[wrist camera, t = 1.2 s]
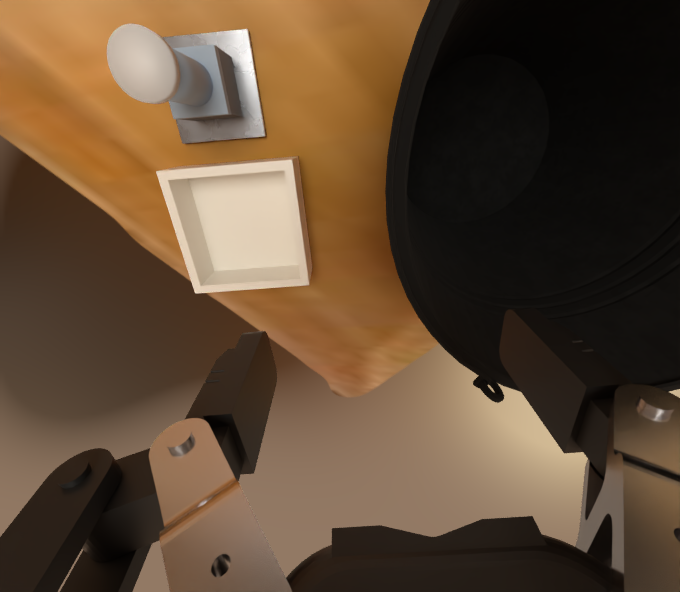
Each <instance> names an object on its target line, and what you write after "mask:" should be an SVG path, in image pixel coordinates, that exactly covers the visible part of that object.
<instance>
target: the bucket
mask: <svg viewBox="0 0 680 592" xmlns="http://www.w3.org/2000/svg"><path fill="white" fill-rule="evenodd" d="M386 215H387V226H388V232H389V239H390V245H391V251H392V254H393V258H394V262H395V265H396V269H397V273H398V276H399V278H400V281H401V283H402V286H403V288H404V290H405V293H406V295H407V298H408V299H409V301H410V303H411V305H412V306H413V308H414V310H415V312H416V314H417V315H418V317H419V318H420V320H421V321H422V323H423V324H424V325H425V327H426V328H427V329H428V331H429V332H430V334H431V335H432V336H433V337H434V338H435V339H436V340H437V341H438V342H439V344H440V345H441V346H442V347H443V348H444V349H445V350H446V351H447V352H448V353H449V354H451V355H452V356H453V357H454V358H455V359H456V360H457V361H458V362H459V363H461V364H462V365H464V366H465V367H467V368H468V369H470V370H471V371H473V372H474V373H476V374H477V375H479V376H478V377H477V378H476V379H475V380H474V381H473V385H474V386H476V387H478V388H480V389H481V390H482V391H483V393H484V394H485V395H486V396H487V397H488V398H489V399H491V400H492V401H494V402H501V401H502V400H503V399H504V395H503V392H502V390H501V388H500V387H499V385H498V384H497V383H499V384H501V385H503V386H506V387H509V388H511V389H515V390H517V391H520V389H519V388H518V386H517V385H516V384H515V382H514V381H513V379H512V378H511V376H510V375H509V373H508V372H507V371H506V369H505V368H504V366H503V364H502V362H501V359H500V354H499V347H500V340H501V334H502V328H503V321H504V316H505V313H506V311H507V310H509V309H520V308H531V307H533V308H535V309H537V310H538V311H539V312H540V313H541V314H542V315H543V316H544V317H546V318H547V319H548V320H549V321H554V322H556V323H558V324H560V325H562V326H564V327H566V328H568V329H570V330H571V331H573V332H574V333H575V334H576V335H577V336H578V337H580V338H581V339H582V341H583V342H585V343H587V344H588V345H589V346H590V347H591V348H592V349H593V351H596V352H597V353H598V354H599V355H601V356H602V357H603V358H604V359H605V360H606V361H607V362H609V363H610V364H611V365H612V366H613V367H614V368H616V369H617V370H618V371H619V372H620V373H621V374H623V375H624V376H625V377H626V378H627V379H628V380H630V381H631V382H632V383H633V384H643V385H648V386H653V387H656V388H659V389H662V390H664V391H667V392H669V391H673V390H677V389H680V0H430V2H429V5H428V7H427V10H426V12H425V14H424V17H423V19H422V22H421V24H420V27H419V29H418V32H417V35H416V38H415V41H414V44H413V47H412V50H411V53H410V56H409V59H408V62H407V66H406V69H405V72H404V75H403V79H402V83H401V87H400V91H399V95H398V100H397V104H396V108H395V112H394V116H393V122H392V129H391V136H390V142H389V149H388V156H387V173H386ZM488 384H489V385H490V386H491V387H492V388H493V390H494V391H495V393H494V392H492V391H491V390H490V388H489V387H488V386H487V385H488ZM520 392H521V391H520Z"/></svg>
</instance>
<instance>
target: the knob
mask: <svg viewBox="0 0 680 592" xmlns="http://www.w3.org/2000/svg"><path fill="white" fill-rule="evenodd" d="M107 59H108V64H109V68H110V70H111V73H112V75H113V77H114V79H115V80H116V82H117V83H118V85H119V86H120V87H121V88H122V89H123V90H124V91H125V92H126V93H127V94H128V95H130V96H131V97H133V98H134V99H136V100H139V101H142V102H146V103H152V104H161V103H165V102H167V101H169V104H170V107H171V111H172V115H173V118H174V119H180V120H190V121H200V120H211V119H222V118H233V117H243V115H242V110H241V104H240V99H239V94H238V89H237V83H236V78H235V73H234V68H233V62H232V57H231V56H229V55H228V54H227V53H225V52H224V51H222V50H221V49H220V48H218V47H217V46H216V45H214V44H211V45H201V46H191V47H181V48H171V47H170V45H169V44H168V43H167V42H166V41H165V40H164V39H163V38H162V37H161V36H160V35H158V34H157V33H155V32H153V31H151V30H150V29H148V28H146V27H144V26H141V25H138V24H125V25H122V26H120V27H118V28H117V29H116V30H115V31H114V32H113V33H112V35H111V36H110V38H109V41H108V46H107Z"/></svg>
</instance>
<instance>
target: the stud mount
mask: <svg viewBox="0 0 680 592" xmlns="http://www.w3.org/2000/svg"><path fill="white" fill-rule="evenodd" d="M162 38H163V39H164V40H165V41H166V42H167V43H168V44H169V45H170V47H171V48H181V47H191V46H201V45H211V44H214V45H216V46H217V47H218V48H220V49H221V50H222V51H224V52H225V53H227V54H228V55H229V56H231V57H232V62H233V68H234V73H235V78H236V83H237V89H238V94H239V99H240V104H241V110H242V115H243V117H233V118H222V119H211V120H200V121H190V120H180V119H176V122H177V125H178V129H179V133H180V136H181V140H182V143H183V144H184V143H195V142H207V141H218V140H229V139H241V138H252V137H263V136H266V130H265V124H264V117H263V111H262V105H261V99H260V93H259V87H258V81H257V75H256V69H255V63H254V57H253V51H252V45H251V39H250V33H249V30H248V29H242V30H232V31H222V32H212V33H202V34H192V35H182V36H172V37H162Z"/></svg>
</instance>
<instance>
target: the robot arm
mask: <svg viewBox="0 0 680 592" xmlns="http://www.w3.org/2000/svg"><path fill="white" fill-rule="evenodd" d="M499 354H500V359H501V362H502V364H503V366H504V368H505V369H506V371H507V372H508V373H509V375H510V376H511V378H512V379H513V381H514V382H515V384H516V385H517V386H518V388H519V389H520V391H521V392H522V393H523V395H524V396H525V398H526V399H527V401H528V402H529V404H530V405H531V406H532V408H533V409H534V411H535V412H536V414H537V415H538V416H539V418H540V419H541V421H542V422H543V424H544V425H545V426H546V428H547V429H548V431H549V432H550V434H551V435H552V437H553V438H554V439H555V441H556V442H557V444H558V445H559V447H560V448H561V449H562V451H563V452H564V453H575V452H584V454H585V455H586V456H587V458H588V460H587V463H586V466H585V475H584V486H583V497H582V507H581V518H580V527H579V533H578V539H577V542H576V546H575V547H574V546H572V545H570V544H568V543H566V542H563V541H561V540H558V539H555V538H552V537H549V536H546V535H542V534H541V532H540V531H539V528H538V526H537V524H536V523H535V521H534V519H533V517H532V516H528V517H512V518H495V519H482V520H479V521H476V522H474V523H472V524H469V525H466V526H464V527H461V528H459V529H456V530H453V531H451V532H448V533H446V534H443V535H441V536H437V537H428V536H423V535H420V534H415V533H411V532H406V531H402V530H398V529H393V528H389V527H385V526H363V527H347V528H333V529H332V545H330V546H328V547H326V548H323V549H321V550H319V551H317V552H316V553H314V554H312V555H311V556H309V557H308V558H307V559H305V560H304V561H303V562H301V563H300V564H299V565H298V566H297V567H296V568H295V569H294V570H293V571H292V572H291V573H290V574H289V575H288V576H287V577H285V575H284V574H283V571H282V569H281V567H280V565H279V563H278V561H277V559H276V557H275V555H274V553H273V551H272V549H271V547H270V545H269V543H268V541H267V539H266V537H265V535H264V533H263V531H262V529H261V527H260V525H259V523H258V521H257V519H256V517H255V515H254V513H253V511H252V509H251V507H250V504H249V502H248V501H247V499H246V496H245V494H244V493H243V491H242V488H241V486H240V484H239V482H238V481H239V478H240V474H252V473H254V471H255V467H256V463H257V459H258V455H259V451H260V447H261V443H262V439H263V435H264V431H265V427H266V423H267V419H268V415H269V411H270V407H271V403H272V398H273V395H274V391H275V387H276V381H277V373H276V365H275V361H274V357H273V353H272V350H271V346H270V342H269V338H268V335H267V333H266V332H265V331H261V332H251V333H243V334H242V335H241V337H240V339H239V341H238V343H237V345H236V347H235V349H228V350H227V351H226V352H224V353H223V354H222V355H221V356H220V357H219V358H218V359H217V360H216V362H215V364H214V366H213V368H212V369H211V373H210V374H209V375H208V377H207V379H206V383H204V384H203V386H202V388H201V390H200V392H199V394H198V396H197V397H196V400H195V401H194V403H193V405H192V407H191V409H190V411H189V413H188V414H187V416H186V418H185V420H182V421H179V422H177V423H175V424H173V425H171V426H170V427H168V428H167V429H166V430H164V431H163V432H162V433H161V434H160V435H159V436H158V437H157V438H156V440H155V441H154V442H153V444H152V446H151V448H149V449H147V450H144V451H141V452H138V453H135V454H132V455H129V456H126V457H123V458H121V459H118V460H115V459H114V457H113V456H112V454H111V453H110V452H109V451H108V450H106V449H101V448H98V449H91V450H88V451H84V452H82V453H80V454H78V455H76V456H74V457H72V458H70V459H69V460H67V461H66V462H64V463H63V464H61V465H60V466H59V467H58V468H57V469H55V470H54V471H53V472H52V473H51V474H50V475H49V476H48V477H47V479H46V480H45V481H44V482H43V484H42V485H41V486H40V487H39V489H38V490H37V491H36V492H35V494H34V495H33V496H32V498H31V499H30V500H29V501H28V503H27V504H26V505H25V506H24V508H23V509H22V510H21V511H20V513H19V514H18V515H17V517H16V518H15V519H14V520H13V522H12V523H11V524H10V525H9V527H8V528H7V529H6V531H5V532H4V533H3V534H2V536H1V537H0V592H58V590H59V588H60V586H61V584H62V583H63V581H64V579H65V577H66V576H67V574H68V572H69V570H70V569H71V567H72V565H73V563H74V561H75V560H76V558H77V556H78V554H79V553H80V551H81V549H83V552H82V554H81V555H80V557H79V559H78V561H77V562H76V564H75V566H74V568H73V570H72V571H71V573H70V575H69V577H68V578H67V580H66V582H65V584H64V586H63V587H62V589H61V591H60V592H132V591H133V589H134V586H135V584H136V581H137V579H138V576H139V574H140V571H141V569H142V567H143V564H144V561H145V559H146V556H147V554H148V552H149V549H150V547H151V544H152V543H154V542H156V541H159V540H160V546H161V551H162V555H163V560H164V565H165V570H166V575H167V580H168V584H169V589H170V592H680V398H679V397H677V396H675V395H673V394H671V393H669V392H667V391H664V390H662V389H659V388H656V387H653V386H648V385H643V384H633V383H632V382H631V381H630V380H628V379H627V378H626V377H625V376H624V375H623V374H621V373H620V372H619V371H618V370H617V369H616V368H614V367H613V366H612V365H611V364H610V363H609V362H607V361H606V360H605V359H604V358H603V357H602V356H601V355H599V354H598V353H597V352H596V351H593V349H592V348H591V347H590V346H589V345H588V344H587V343H585V342H583V341H582V339H581V338H580V337H578V336H577V335H576V334H575V333H574V332H573V331H571V330H570V329H568V328H566V327H564V326H562V325H560V324H558V323H556V322H554V321H549V320H548V319H547V318H546V317H544V316H543V315H542V314H541V313H540V312H539V311H538V310H537V309H535V308H533V307H531V308H520V309H509V310H507V311H506V313H505V316H504V321H503V328H502V334H501V340H500V347H499Z"/></svg>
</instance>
